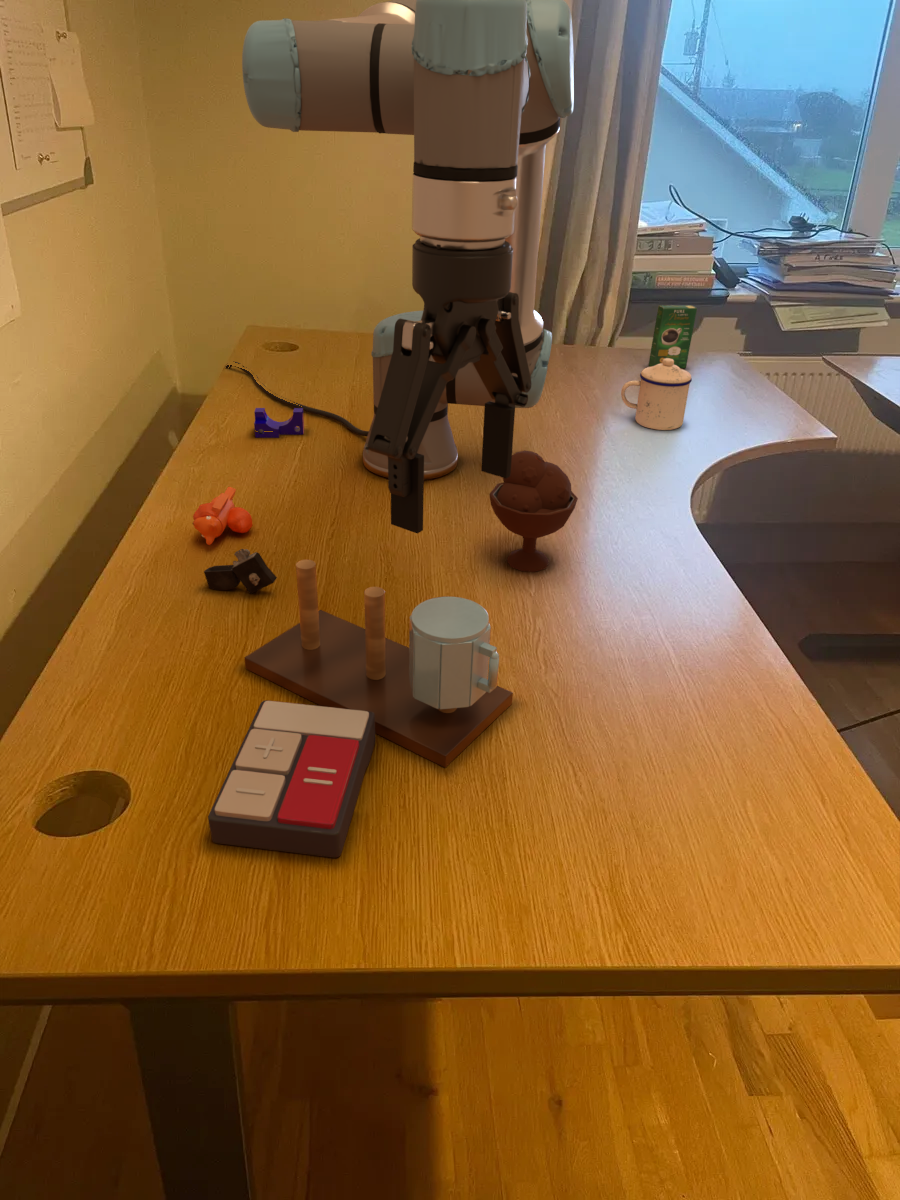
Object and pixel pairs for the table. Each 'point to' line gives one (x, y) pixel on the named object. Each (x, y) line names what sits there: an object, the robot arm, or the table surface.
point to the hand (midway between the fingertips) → (454, 499)
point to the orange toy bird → (221, 517)
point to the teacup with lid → (660, 396)
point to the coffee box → (672, 334)
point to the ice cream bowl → (532, 506)
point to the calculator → (295, 779)
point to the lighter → (241, 573)
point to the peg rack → (367, 676)
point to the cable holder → (278, 424)
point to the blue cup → (451, 653)
